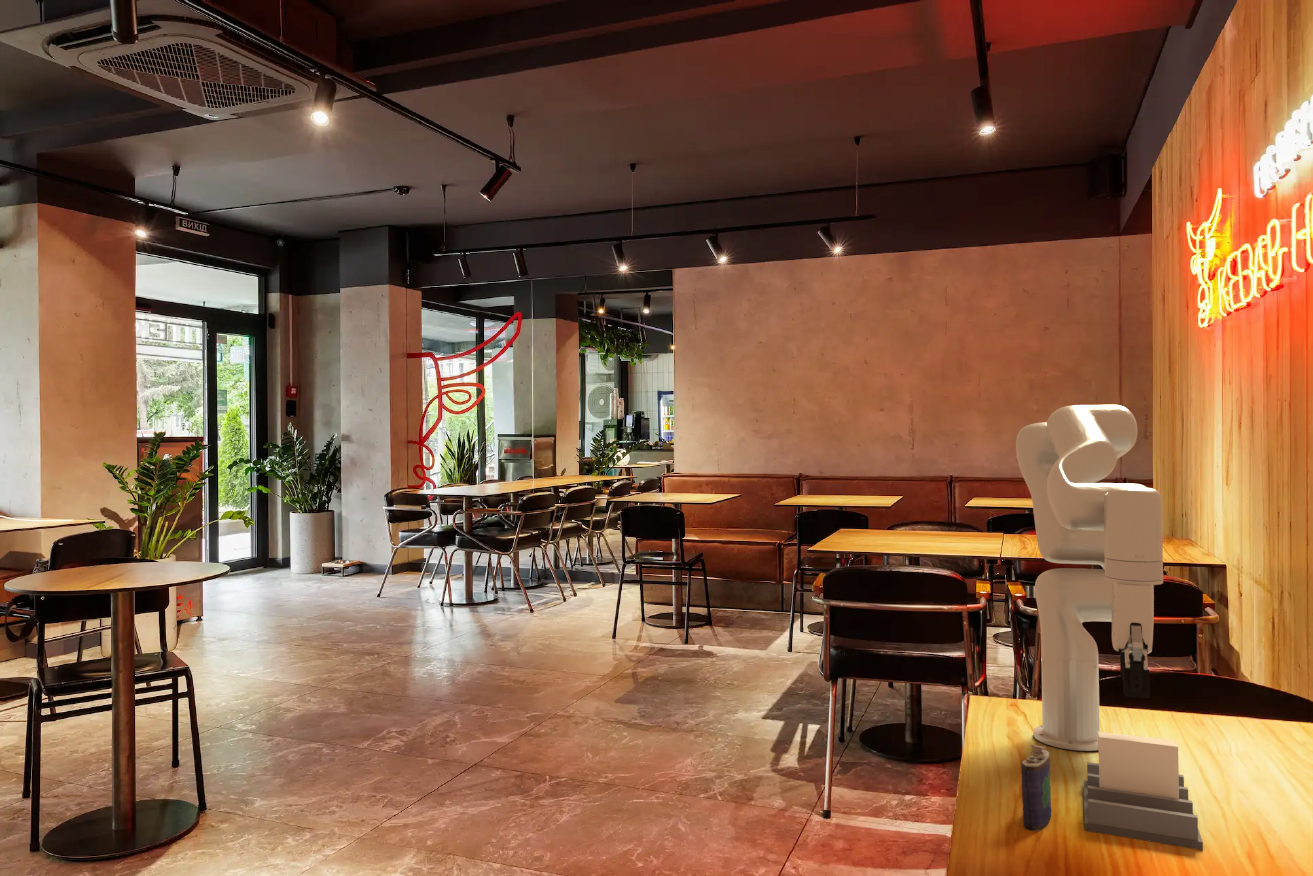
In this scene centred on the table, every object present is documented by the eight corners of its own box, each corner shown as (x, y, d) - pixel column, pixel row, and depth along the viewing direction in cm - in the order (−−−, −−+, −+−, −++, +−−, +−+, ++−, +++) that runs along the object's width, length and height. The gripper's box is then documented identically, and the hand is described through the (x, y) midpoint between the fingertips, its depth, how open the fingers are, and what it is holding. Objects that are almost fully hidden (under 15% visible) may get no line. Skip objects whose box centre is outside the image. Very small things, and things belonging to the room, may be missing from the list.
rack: (1083, 786, 136) (1083, 761, 136) (1187, 801, 130) (1186, 775, 130) (1084, 830, 120) (1084, 801, 120) (1202, 850, 114) (1202, 819, 114)
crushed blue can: (1035, 807, 128) (1034, 735, 128) (1056, 812, 126) (1055, 738, 126) (1019, 829, 120) (1018, 752, 121) (1042, 834, 119) (1041, 756, 119)
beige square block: (1099, 798, 128) (1098, 731, 129) (1177, 810, 124) (1175, 740, 124) (1100, 806, 126) (1098, 737, 126) (1179, 818, 121) (1178, 746, 122)
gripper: (1102, 562, 135) (1103, 670, 135) (1106, 578, 120) (1107, 701, 120) (1157, 565, 132) (1158, 676, 132) (1168, 581, 116) (1169, 708, 116)
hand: (1134, 687), depth 126 cm, fingers open, 9 cm apart
